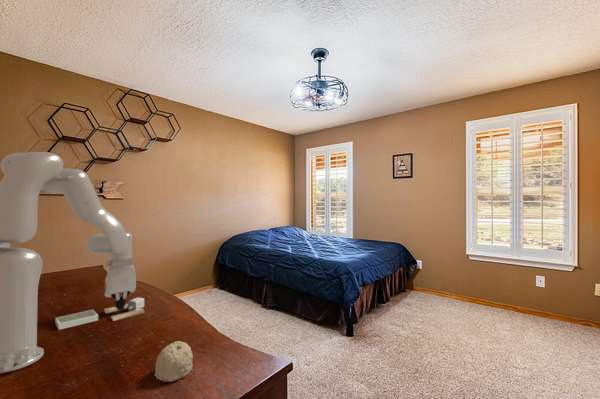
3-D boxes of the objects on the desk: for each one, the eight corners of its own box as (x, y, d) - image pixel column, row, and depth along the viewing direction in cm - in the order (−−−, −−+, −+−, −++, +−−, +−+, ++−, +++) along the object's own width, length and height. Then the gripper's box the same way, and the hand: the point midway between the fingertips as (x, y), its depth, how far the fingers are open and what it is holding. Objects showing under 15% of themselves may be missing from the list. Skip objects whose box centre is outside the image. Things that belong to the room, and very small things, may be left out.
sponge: (193, 384, 78) (201, 343, 83) (183, 382, 70) (192, 337, 76) (159, 384, 77) (168, 343, 83) (144, 382, 70) (156, 337, 75)
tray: (98, 320, 109) (98, 314, 109) (58, 329, 101) (58, 324, 101) (93, 314, 114) (93, 309, 114) (55, 323, 106) (55, 317, 106)
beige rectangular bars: (144, 313, 116) (144, 310, 116) (113, 320, 108) (113, 318, 108) (133, 304, 126) (133, 302, 126) (103, 311, 118) (103, 308, 118)
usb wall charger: (144, 307, 122) (144, 298, 122) (130, 313, 116) (130, 303, 116) (136, 306, 123) (136, 297, 123) (122, 312, 117) (122, 302, 117)
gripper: (101, 267, 108) (100, 316, 108) (144, 261, 119) (143, 306, 119) (96, 264, 113) (95, 311, 113) (137, 259, 124) (137, 302, 124)
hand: (120, 308), depth 116 cm, fingers closed
